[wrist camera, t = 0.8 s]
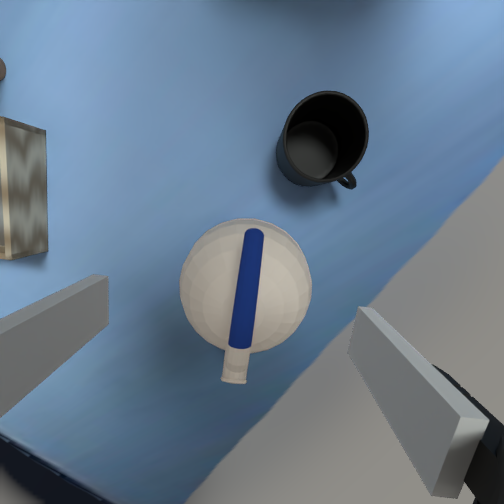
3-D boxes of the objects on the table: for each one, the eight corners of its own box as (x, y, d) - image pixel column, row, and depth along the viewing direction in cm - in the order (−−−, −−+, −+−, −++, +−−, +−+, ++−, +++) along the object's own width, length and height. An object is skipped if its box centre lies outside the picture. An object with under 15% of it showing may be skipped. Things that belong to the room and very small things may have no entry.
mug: (317, 212, 38) (336, 216, 29) (262, 152, 36) (264, 137, 27) (365, 166, 36) (401, 155, 27) (310, 102, 34) (330, 68, 26)
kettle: (179, 330, 42) (125, 425, 24) (189, 208, 38) (132, 217, 20) (296, 345, 42) (326, 450, 25) (319, 226, 38) (376, 250, 20)
